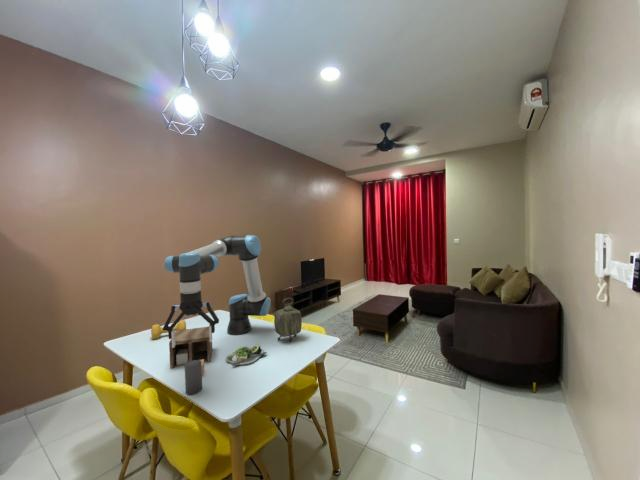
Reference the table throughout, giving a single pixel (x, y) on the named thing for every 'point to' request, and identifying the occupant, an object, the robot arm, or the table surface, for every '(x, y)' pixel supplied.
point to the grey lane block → (182, 356)
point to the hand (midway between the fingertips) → (192, 343)
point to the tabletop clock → (287, 321)
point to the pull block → (194, 376)
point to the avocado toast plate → (245, 355)
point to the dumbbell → (158, 330)
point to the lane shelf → (191, 343)
